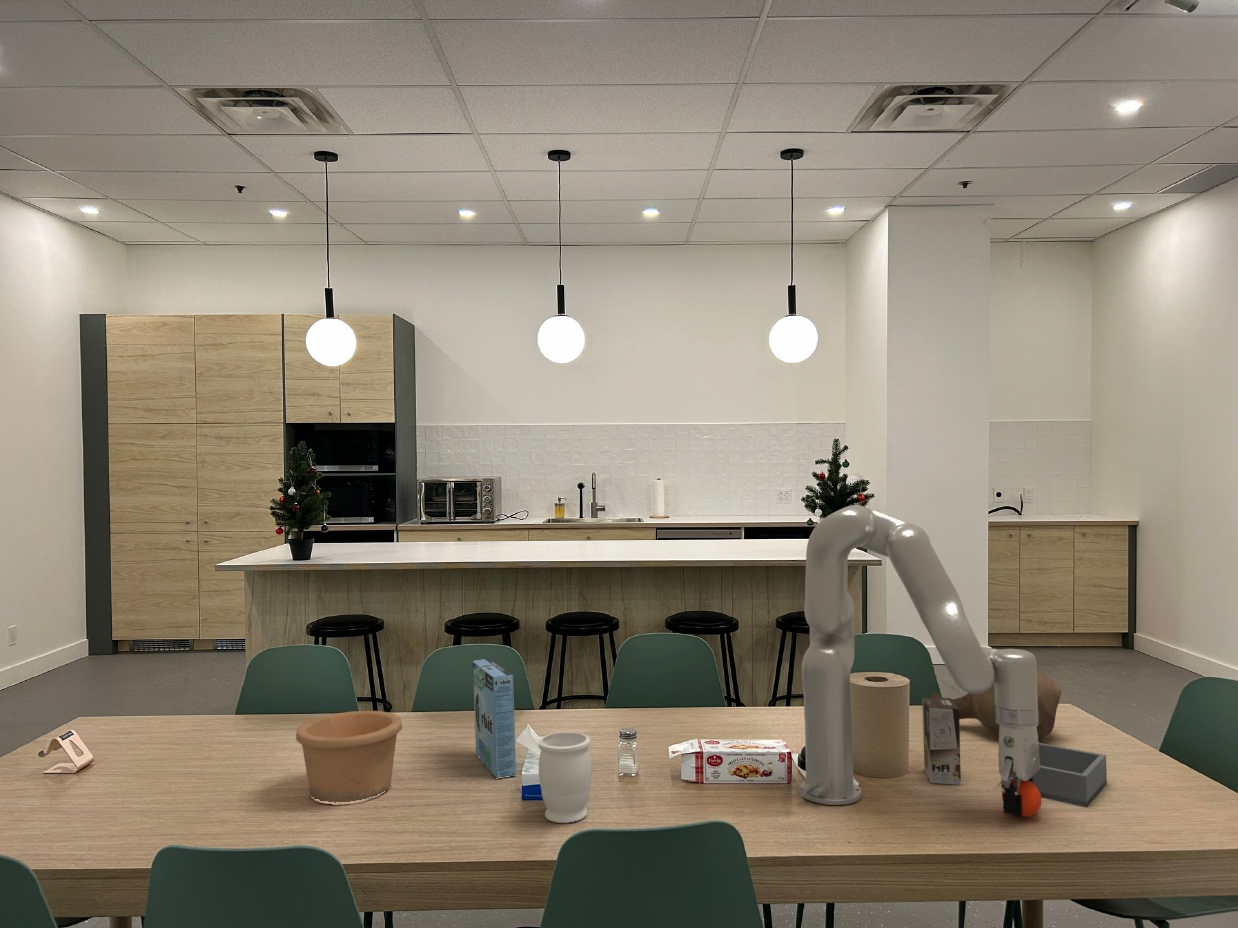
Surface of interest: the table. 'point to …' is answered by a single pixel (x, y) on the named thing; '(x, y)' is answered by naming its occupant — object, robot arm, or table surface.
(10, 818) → the table surface
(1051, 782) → the bin
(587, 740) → the jar
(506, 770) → the gum box
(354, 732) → the pottery
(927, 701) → the coffee box
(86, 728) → the table surface
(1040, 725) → the jug
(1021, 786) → the clementine
